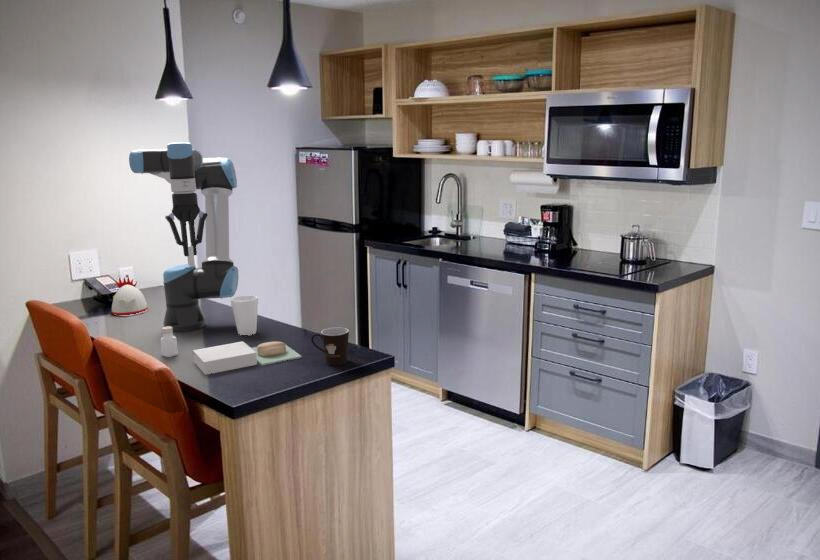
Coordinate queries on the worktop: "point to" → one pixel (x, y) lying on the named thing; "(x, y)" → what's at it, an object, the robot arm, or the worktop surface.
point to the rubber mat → (277, 357)
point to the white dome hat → (128, 299)
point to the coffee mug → (334, 345)
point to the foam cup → (245, 313)
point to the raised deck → (224, 357)
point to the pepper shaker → (168, 342)
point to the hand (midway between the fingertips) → (191, 265)
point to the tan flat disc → (271, 349)
